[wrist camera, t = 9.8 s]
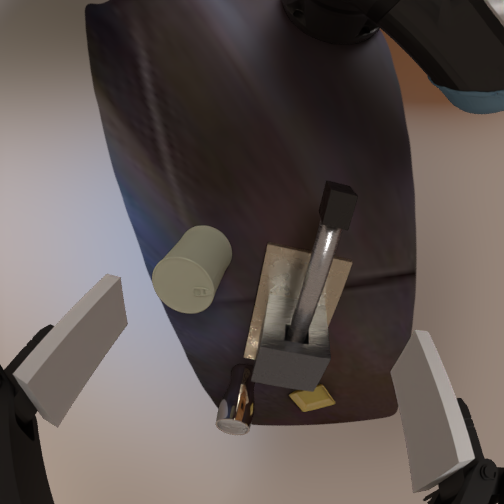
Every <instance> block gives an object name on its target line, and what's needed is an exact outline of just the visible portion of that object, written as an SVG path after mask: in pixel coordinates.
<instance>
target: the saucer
mask: <svg viewBox="0 0 504 504" xmlns="http://www.w3.org/2000/svg"><path fill="white" fill-rule="evenodd" d="M289 396H290V397H291V399H292V400H293V401H294V402H295V403H296V404H297V405H298V407H299V408H300V409H301V410H302V411H303V412H307V411H311V410H315V409H319V408H322V407H326V406H330V405H333V404H335V401H334V400H333V398H332V397H331V396H330V394H329V393H328V391H327V390H326V389H325V387H324V386H323V385H322V384H317V386H316V388H315V390H314V392H311V391H304V390H296V391H294V392H292V393H291V394H290V395H289Z"/></svg>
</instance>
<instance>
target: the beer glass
mask: <svg viewBox="0 0 504 504" xmlns="http://www.w3.org/2000/svg"><path fill="white" fill-rule="evenodd" d="M252 373H253V366H251V365H248V364H237V365H235V366H234V367H233V368H232V370H231V381H230V384H229V386H228V388H227V390H226V392H225V394H224V396H223V398H222V400H221V403H220V406H219V409H218V414H217V420H216V426H217V428H218V429H219V430H221V431H223V432H225V433H228V434H232V435H244V434H246V433H248V432H249V430H250V426H251V423H252V419H253V415H254V405H255V401H254V386H255V383H256V382H252V381H251V378H252Z"/></svg>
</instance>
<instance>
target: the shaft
mask: <svg viewBox="0 0 504 504" xmlns="http://www.w3.org/2000/svg"><path fill="white" fill-rule="evenodd" d="M357 198H358V196H357V195H356V193H355V192H354V191H353V190H352V188H351V187H350V186H347V185H343V184H339V183H335V182H331V181H327V180H326V184H325V188H324V192H323V196H322V200H321V204H320V208H319V213H320V217H321V220H320V224H319V227H318V231H317V235H316V239H315V242H314V246H313V250H312V253H311V257H310V260H309V264H308V267H307V271H306V274H305V278H304V281H303V284H302V288H301V291H300V294H299V298H298V301H297V304H296V307H295V311H294V314H293V317H292V320H291V323H290V326H289V329H288V333H287V336H286V339H285V341H291V342H296V343H302V344H303V343H304V341H305V338H306V336H307V333H308V330H309V328H310V325H311V322H312V320H313V317H314V314H315V311H316V308H317V306H318V303H319V300H320V297H321V294H322V291H323V288H324V286H325V283H326V280H327V277H328V274H329V271H330V267H331V264H332V261H333V258H334V255H335V252H336V249H337V245H338V242H339V239H340V235H341V232H342V229H344V230H348V229H349V226H350V222H351V219H352V216H353V212H354V208H355V205H356V201H357Z"/></svg>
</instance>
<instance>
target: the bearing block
mask: <svg viewBox="0 0 504 504" xmlns="http://www.w3.org/2000/svg"><path fill="white" fill-rule="evenodd" d="M311 253H312V251H309V250H304V249H300V248H295V247H290V246H286V245H281V244H276V243H272V242H268V245H267V250H266V255H265V260H264V264H263V269H262V274H261V279H260V284H259V288H258V293H257V298H256V302H255V307H254V312H253V317H252V321H251V326H250V330H249V335H248V340H247V344H246V349H245V353H244V358H249V359H253V360H255V362H254V367H253V373H252V378H251V381H252V382H257V383H262V384H268V385H273V386H279V387H285V388H291V389H297V390H304V391H311V392H314V390H315V388H316V386H317V384H318V383H319V381H320V379H321V377H322V375H323V373H324V371H325V369H326V367H327V365H328V363H329V361H330V359H331V356H330V345H329V334H328V326H329V323H330V321H331V319H332V316H333V314H334V311H335V309H336V306H337V303H338V301H339V298H340V296H341V293H342V290H343V288H344V285H345V282H346V280H347V277H348V274H349V271H350V269H351V266H352V263H353V262H352V260H350V259H346V258H341V257H337V256H334V258H333V261H332V264H331V267H330V271H329V274H328V277H327V280H326V283H325V286H324V288H323V291H322V294H321V297H320V300H319V303H318V306H317V308H316V311H315V314H314V317H313V320H312V322H311V325H310V328H309V330H308V333H307V336H306V338H305V341H304V343H303V344H302V343H296V342H291V341H285V339H286V336H287V333H288V329H289V326H290V323H291V320H292V317H293V314H294V311H295V307H296V304H297V301H298V298H299V294H300V291H301V288H302V284H303V281H304V278H305V274H306V271H307V267H308V264H309V260H310V257H311Z"/></svg>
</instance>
